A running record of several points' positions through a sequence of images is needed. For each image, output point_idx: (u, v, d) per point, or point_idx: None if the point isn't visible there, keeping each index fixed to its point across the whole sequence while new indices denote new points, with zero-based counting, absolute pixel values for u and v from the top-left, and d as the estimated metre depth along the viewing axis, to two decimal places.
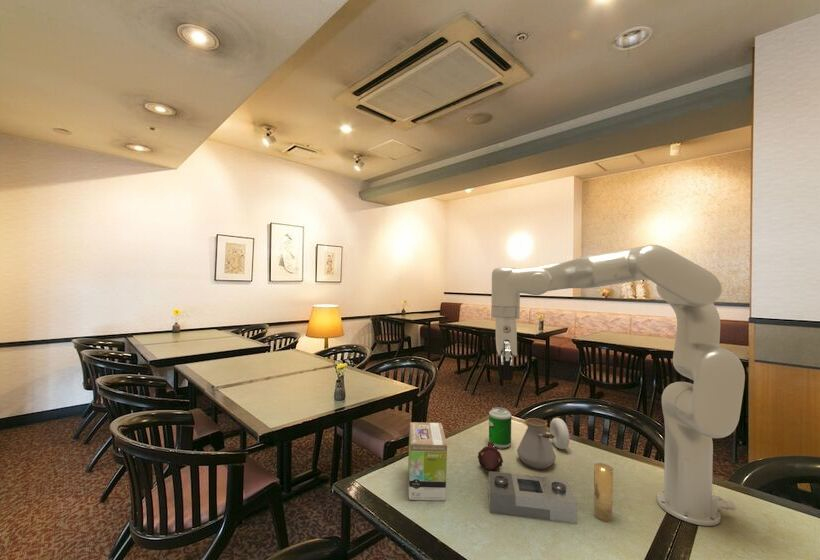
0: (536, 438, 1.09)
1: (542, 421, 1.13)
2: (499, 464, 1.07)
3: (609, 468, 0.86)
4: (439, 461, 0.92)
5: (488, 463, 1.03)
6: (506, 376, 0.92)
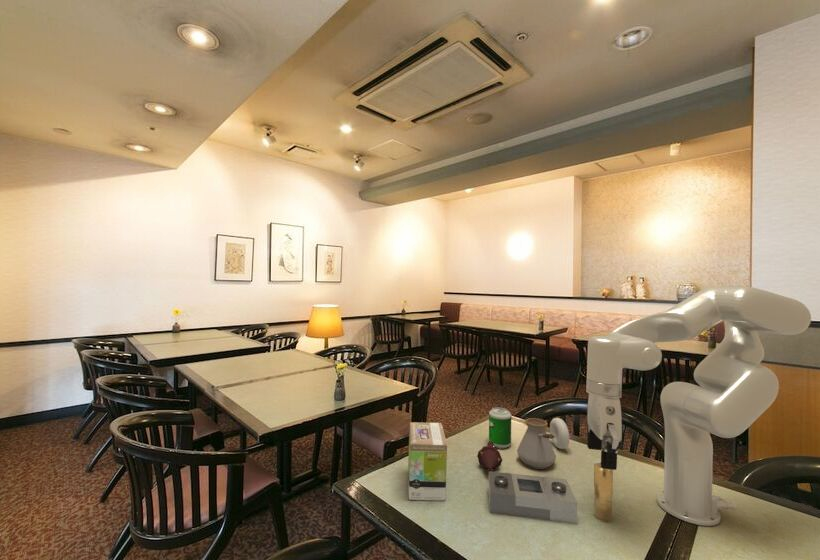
0: (536, 438, 1.09)
1: (542, 421, 1.13)
2: (498, 463, 1.07)
3: None
4: (439, 461, 0.92)
5: (487, 462, 1.03)
6: (610, 465, 0.81)
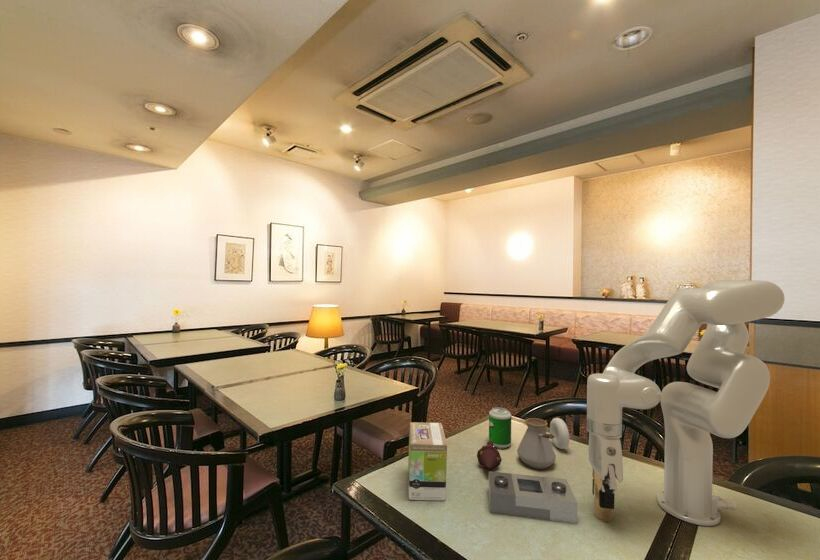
0: (536, 438, 1.09)
1: (542, 421, 1.13)
2: (498, 463, 1.07)
3: None
4: (439, 461, 0.92)
5: (486, 462, 1.04)
6: (608, 505, 0.83)
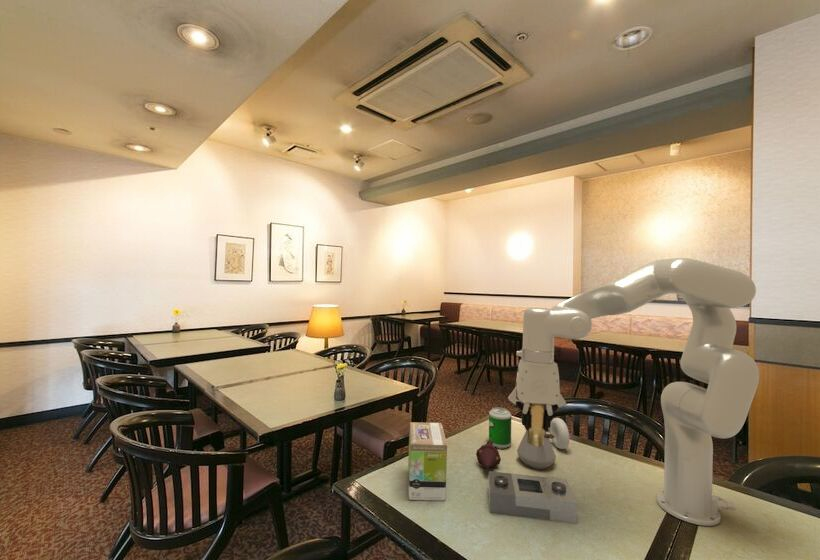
0: None
1: None
2: (497, 462, 1.08)
3: None
4: (439, 461, 0.92)
5: (485, 461, 1.04)
6: (522, 423, 0.91)
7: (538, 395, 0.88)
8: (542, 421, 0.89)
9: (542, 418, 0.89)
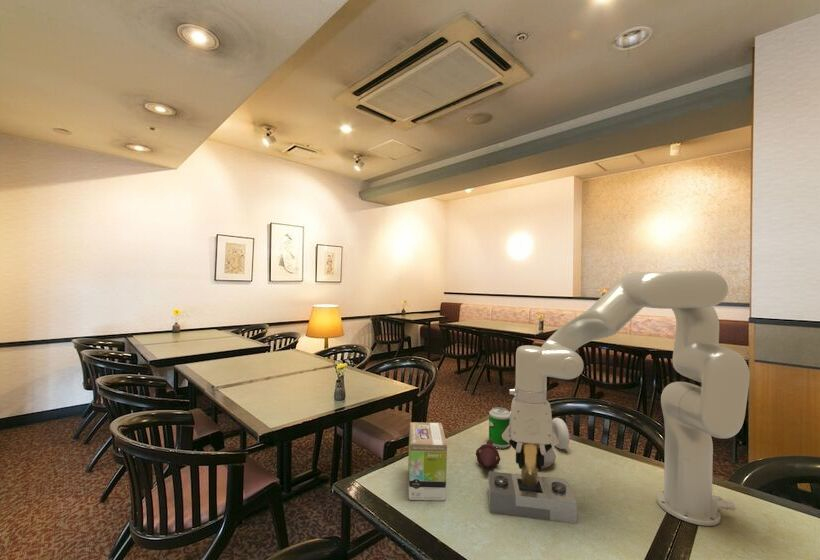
0: None
1: None
2: (496, 462, 1.08)
3: None
4: (439, 461, 0.92)
5: (484, 460, 1.04)
6: None
7: (530, 435, 0.88)
8: (535, 460, 0.89)
9: (535, 457, 0.89)
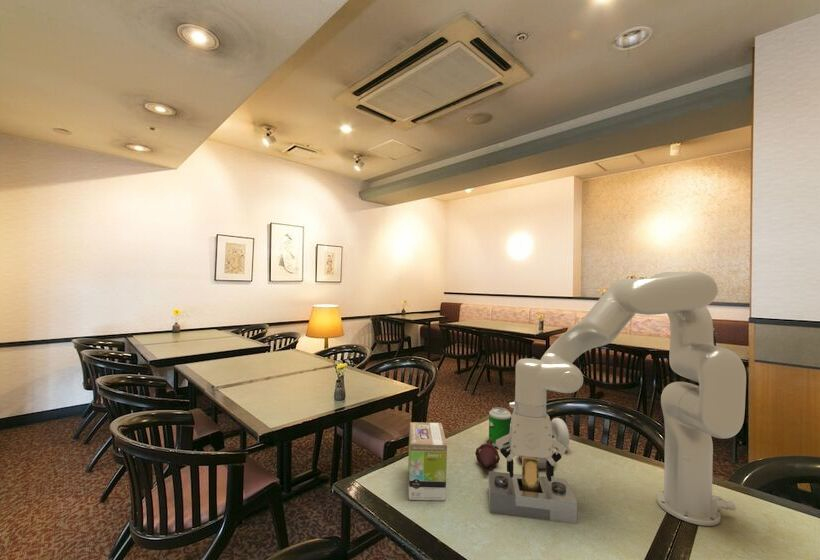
0: None
1: None
2: (496, 461, 1.08)
3: (529, 460, 0.89)
4: (439, 461, 0.92)
5: (484, 459, 1.05)
6: None
7: (530, 449, 0.88)
8: (536, 485, 0.89)
9: (535, 482, 0.89)
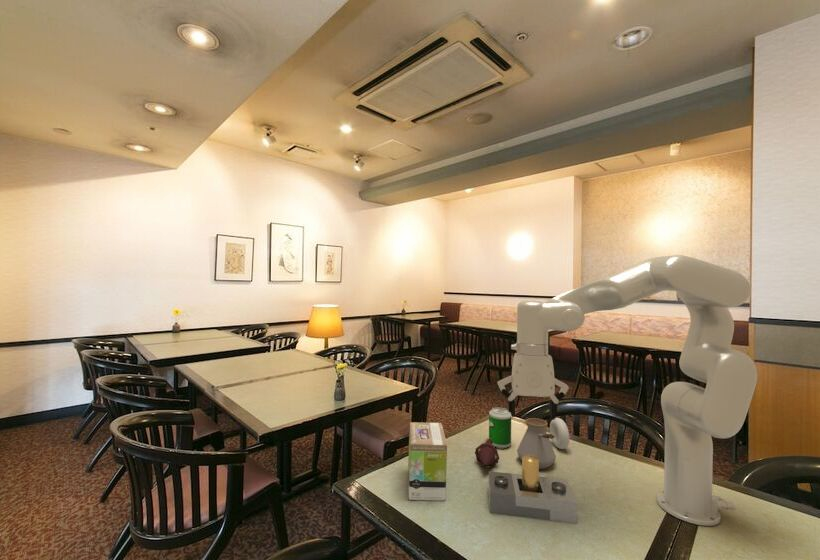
0: (536, 438, 1.09)
1: (542, 421, 1.13)
2: (495, 461, 1.09)
3: (529, 460, 0.90)
4: (439, 461, 0.92)
5: (483, 459, 1.05)
6: (508, 410, 0.92)
7: (533, 387, 0.88)
8: (536, 485, 0.89)
9: (535, 482, 0.89)
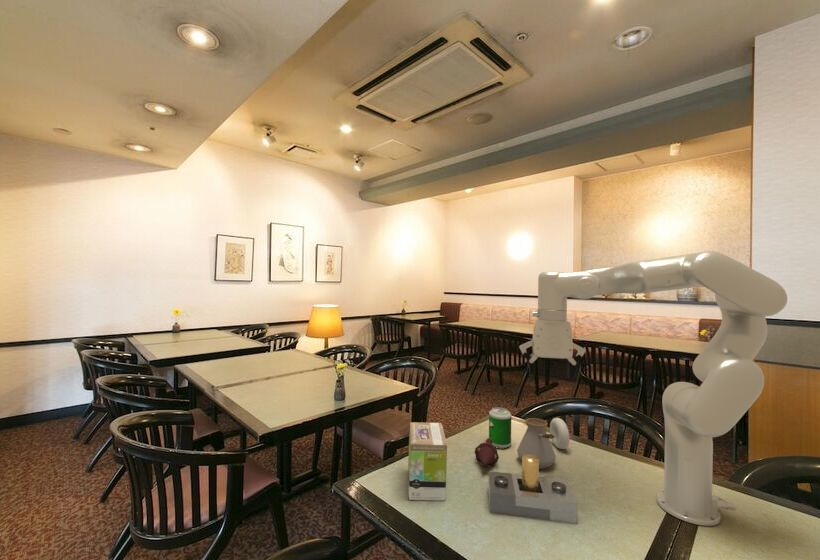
0: (536, 438, 1.09)
1: (542, 421, 1.13)
2: (495, 460, 1.09)
3: (529, 460, 0.89)
4: (439, 461, 0.92)
5: (482, 458, 1.05)
6: (529, 372, 1.00)
7: (552, 350, 0.97)
8: (536, 485, 0.89)
9: (535, 482, 0.89)
